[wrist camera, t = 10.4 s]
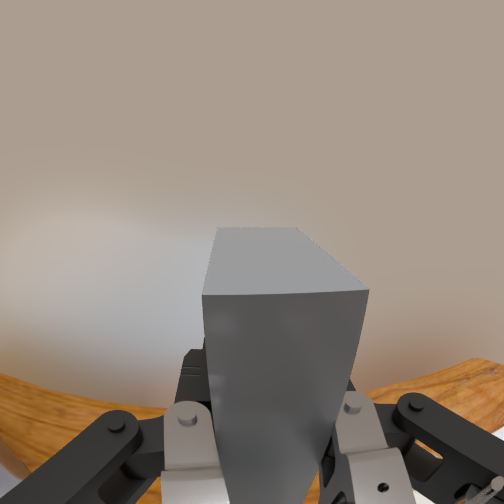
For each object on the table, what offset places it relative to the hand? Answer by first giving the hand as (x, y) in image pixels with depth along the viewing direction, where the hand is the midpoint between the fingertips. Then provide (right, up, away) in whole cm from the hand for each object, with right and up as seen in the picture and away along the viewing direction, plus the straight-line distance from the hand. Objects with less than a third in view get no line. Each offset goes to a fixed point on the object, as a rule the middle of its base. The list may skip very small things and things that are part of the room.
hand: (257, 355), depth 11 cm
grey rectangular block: (0, -9, +1) cm, 9 cm away
